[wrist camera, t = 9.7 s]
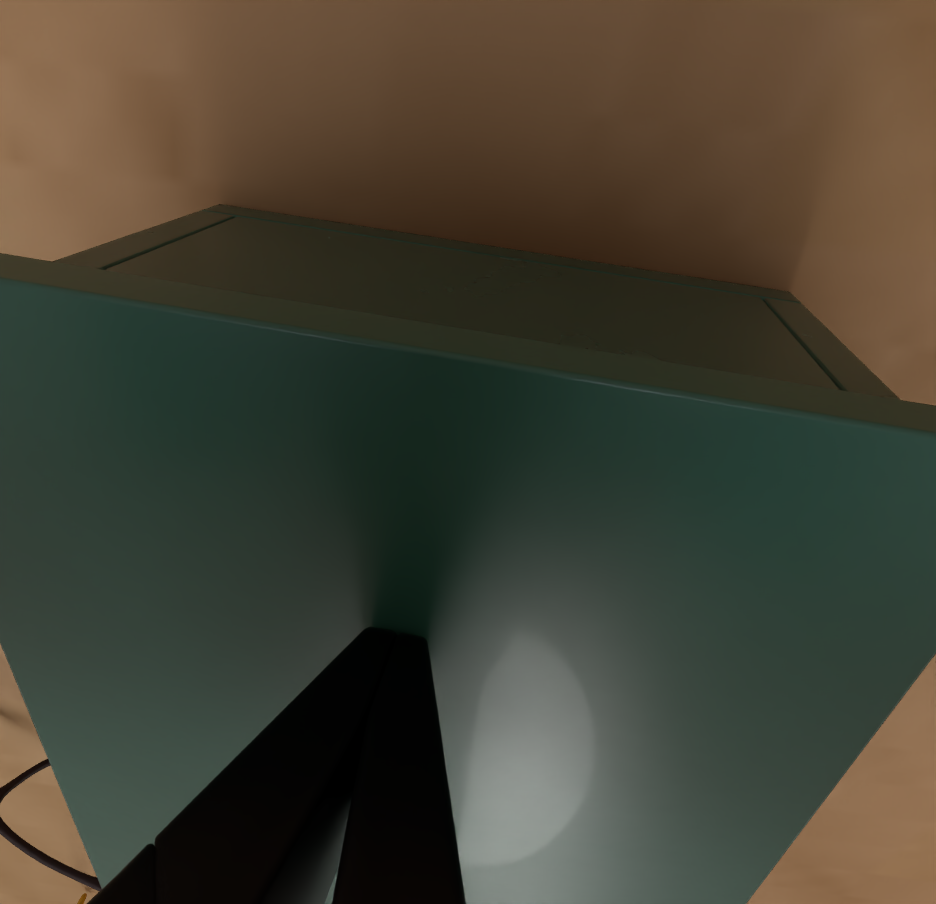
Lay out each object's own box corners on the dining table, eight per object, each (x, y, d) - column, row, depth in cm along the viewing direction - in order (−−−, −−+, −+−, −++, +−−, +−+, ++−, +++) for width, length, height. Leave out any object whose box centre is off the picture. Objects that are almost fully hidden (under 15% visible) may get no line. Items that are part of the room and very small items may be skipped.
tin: (218, 203, 14) (-72, 302, 8) (790, 291, 13) (989, 482, 7) (260, 645, 21) (132, 874, 15) (621, 718, 21) (641, 991, 14)
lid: (-96, 235, 7) (-166, 250, 6) (1032, 419, 6) (1087, 459, 6) (131, 876, 15) (110, 913, 15) (641, 994, 14) (645, 1039, 14)
